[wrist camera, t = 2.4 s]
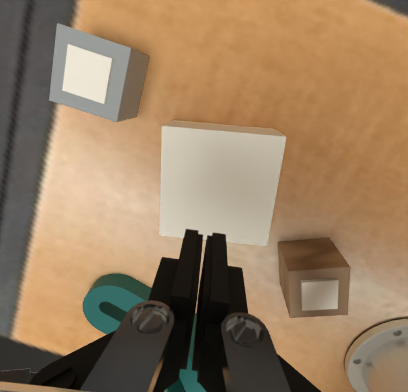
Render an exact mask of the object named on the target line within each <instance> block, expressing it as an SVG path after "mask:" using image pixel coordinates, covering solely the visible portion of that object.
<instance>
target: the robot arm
mask: <svg viewBox="0 0 408 392" xmlns="http://www.w3.org/2000/svg"><path fill="white" fill-rule="evenodd" d="M198 231H199V230H191V229H186V230H185V234H184V239H183V243H182V248H181V252H180V257H179V259H172V258H165V257H162V259H161V262H160V265H159V268H158V271H157V274H156V277H155V280H154V283H153V286H152V289H151V292H150V295H149V299H148V301H143V302H140V303H138V304H136V305H134V306H133V307H132V308H131V309H130V310H129V311H128V312H127V314H126V315H125V317H124V319H123V320H122V322H121V324H120V325H119V327H118V328H117V330H115V331H113V332H111V333H109V334H107V335H105V336H103V337H101V338H99V339H98V340H96V341H94V342H92V343H90V344H88V345H86V346H84V347H82V348H80V349H78V350H76V351H74V352H72V353H70V354H68V355H66V356H64V357H62V358H60V359H59V360H57V361H54V362H52V363H51V364H49V365H47V366H46V367H44V368H43V369H41V370H40V371H39V372H36V373H31V370H30V369H20V370H8V371H0V392H166V389H167V388H168V387H170V386H171V385H172V384H174V383H175V382H176V381H178V380H179V373H180V369H185V370H186V369H187V363H188V356H189V349H190V343H191V336H192V329H193V323H194V316H195V309H196V302H197V294H198V284H199V273H200V263H201V253H202V242H203V234H198ZM192 371H198V372H197V383H200V385H201V386H202V387H203V388H204V389H205V391H206V392H321V391H320V390H319V389H318V388H316V387H315V386H314V385H313V384H312V383H311V382H309V381H308V380H307V379H306V378H305V377H304V376H302V375H301V374H300V373H299V372H298V371H297V370H295V369H294V368H293V367H292V366H291V365H290V364H288V363H287V362H286V361H285V360H284V359H283V358H282V357H280V356H279V355H278V354H277V353H276V350H275V348H274V345H273V342H272V340H271V337H270V334H269V332H268V330H267V328H266V326H265V325H264V324H263V323H262V322H261V321H260V320H259V319H258V318H256V317H255V316H253V315H250V314H248V309H247V301H246V294H245V286H244V279H243V271H242V268H240V267H232V266H228V264H227V245H226V234H221V233H214V232H213V234H212V236H210V235H207V240H206V247H205V253H204V260H203V267H202V273H201V280H200V287H199V295H198V305H197V316H196V327H195V338H194V349H193V359H192ZM345 372H346V375H347V378H348V380H349V382H350V384H351V386H352V387H353V389H354V390H355V391H356V392H408V319H400V320H393V321H390V322H386V323H383V324H380V325H378V326H376V327H374V328H372V329H370V330H368V331H367V332H365V333H364V334H362V335H361V336H360V337H359V338H358V339H357V340H356V341H355V342H354V343H353V344H352V346H351V347H350V348H349V350H348V353H347V355H346V358H345Z"/></svg>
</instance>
